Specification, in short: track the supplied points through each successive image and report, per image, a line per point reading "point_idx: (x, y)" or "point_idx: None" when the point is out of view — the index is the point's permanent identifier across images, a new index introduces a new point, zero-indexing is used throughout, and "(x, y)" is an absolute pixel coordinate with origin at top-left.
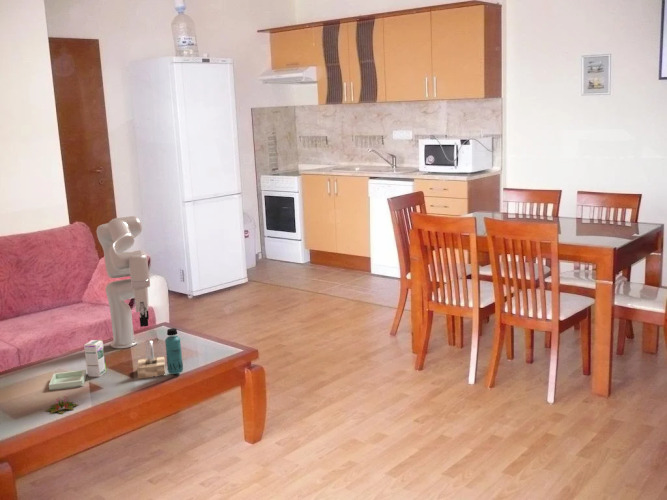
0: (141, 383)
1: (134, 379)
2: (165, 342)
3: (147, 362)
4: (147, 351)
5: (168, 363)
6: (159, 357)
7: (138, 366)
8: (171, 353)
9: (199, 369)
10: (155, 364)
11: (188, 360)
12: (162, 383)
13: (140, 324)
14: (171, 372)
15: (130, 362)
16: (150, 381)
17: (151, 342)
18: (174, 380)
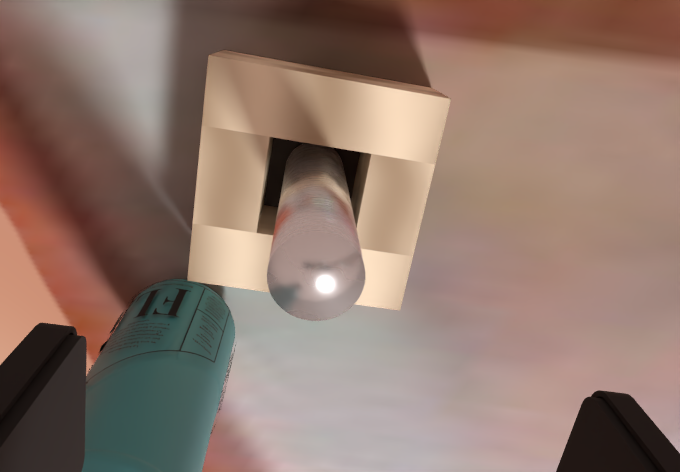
0: (102, 59)
1: (219, 17)
2: (108, 441)
3: (301, 165)
4: (283, 207)
5: (132, 320)
6: (398, 273)
7: (258, 74)
8: None
9: (210, 448)
10: (238, 220)
11: (414, 418)
12: (41, 206)
13: (20, 351)
14: (135, 298)
15: (645, 40)
16: (119, 131)
17: (276, 298)
18: (71, 288)
